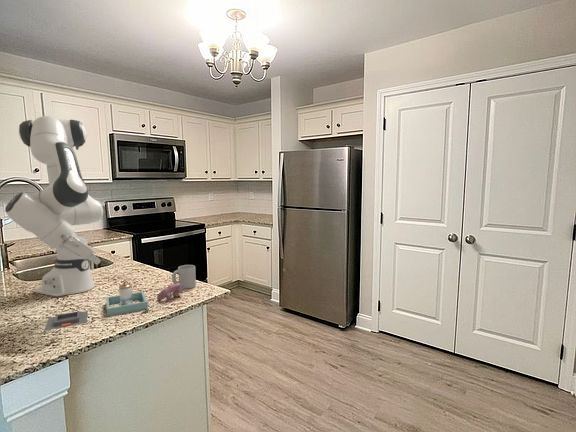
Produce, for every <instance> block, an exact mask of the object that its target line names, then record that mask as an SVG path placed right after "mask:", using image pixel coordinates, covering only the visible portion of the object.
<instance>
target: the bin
mask: <svg viewBox="0 0 576 432" xmlns="http://www.w3.org/2000/svg"><path fill="white" fill-rule="evenodd" d="M105 301H106V302H105V303H106V316H107V317H111V316H117V315H122V314H123V315H124V314H128V313H132V312H133V313H134V312H137V311H142V312H141V313H140V315H143V314H148V313H149V303H148V300H147V297H146V294H145V292H144V291H139V292H137V291H136V292H132V301H138V302H134V303H133V304H128V305H123V306H120V305H119V306H112V307H110V305H113V304H120V294H119V295H114V296H106V297H105ZM139 301H140V302H139ZM141 301H142V302H141ZM143 310H144V311H143Z"/></svg>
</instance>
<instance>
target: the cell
mask: <svg viewBox="0 0 576 432" xmlns="http://www.w3.org/2000/svg"><path fill="white" fill-rule="evenodd" d="M132 288H133V287H132V283H127V282H126V283H123V284H119V286H118V291H119V295H120V303H119V306H123V305H128V304H134V303H133V301H134V300H132V293H133V289H132Z"/></svg>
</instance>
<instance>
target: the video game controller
mask: <svg viewBox="0 0 576 432" xmlns="http://www.w3.org/2000/svg"><path fill="white" fill-rule="evenodd" d="M183 288H184V286H182V285H181V284H179V283H177V284H174V283H171V284H169V285H168V286H166V287H164V288H163V289H162V290H161V291H160V292H159V293H158V294H157V296H156V300H158V301H163V299H166V300H171V299H172V296H173V297H174V298H175V297H177V296H178V295H179V294H180V293H181V292H182V291H183V290H184V289H183Z"/></svg>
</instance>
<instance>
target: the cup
mask: <svg viewBox="0 0 576 432" xmlns="http://www.w3.org/2000/svg"><path fill="white" fill-rule="evenodd" d="M177 275H178V281H177V279H176V278H177ZM196 277H197V276H196V266H195V265H193V264H184V265H180V266H178V268H177V269H176V270H174V271H173V272H172V274H171V281H172V284H177V283H179V284H181V285H182V286H184V288H183V290H188V289H189V290H190V289H193V288H195V287H196V283H197V282H196V281H197V279H196Z"/></svg>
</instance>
